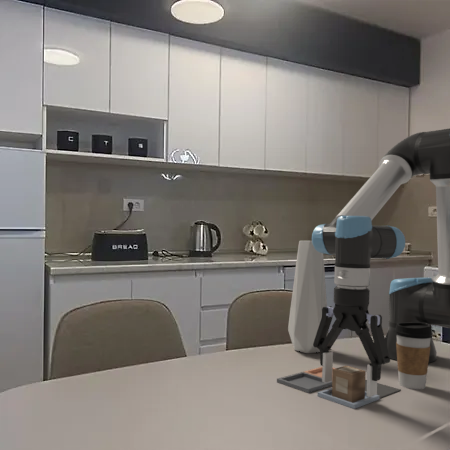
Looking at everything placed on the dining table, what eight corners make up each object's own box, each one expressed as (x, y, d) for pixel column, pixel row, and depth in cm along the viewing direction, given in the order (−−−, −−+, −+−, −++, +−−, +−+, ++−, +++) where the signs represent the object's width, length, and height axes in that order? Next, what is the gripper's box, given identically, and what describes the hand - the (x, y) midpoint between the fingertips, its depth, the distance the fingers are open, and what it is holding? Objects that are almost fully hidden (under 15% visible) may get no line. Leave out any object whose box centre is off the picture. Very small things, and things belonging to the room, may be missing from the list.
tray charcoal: (302, 376, 126) (302, 371, 126) (333, 386, 119) (333, 381, 119) (276, 383, 120) (276, 378, 120) (308, 394, 113) (308, 389, 113)
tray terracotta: (326, 370, 132) (326, 365, 132) (356, 379, 125) (357, 374, 125) (302, 376, 126) (302, 371, 126) (333, 386, 119) (334, 381, 119)
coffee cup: (434, 394, 116) (436, 328, 116) (395, 390, 117) (397, 325, 117) (427, 382, 124) (429, 321, 124) (391, 379, 125) (392, 319, 125)
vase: (278, 349, 153) (281, 239, 153) (302, 343, 161) (305, 239, 160) (310, 358, 144) (313, 241, 144) (334, 351, 152) (338, 241, 151)
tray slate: (342, 389, 117) (343, 384, 117) (379, 400, 110) (379, 395, 110) (317, 397, 111) (317, 392, 111) (354, 410, 104) (354, 404, 104)
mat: (366, 382, 123) (366, 379, 123) (400, 392, 116) (400, 389, 116) (344, 389, 117) (344, 386, 117) (379, 400, 110) (379, 397, 110)
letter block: (345, 392, 114) (346, 365, 114) (364, 398, 110) (365, 370, 110) (331, 396, 110) (332, 368, 110) (351, 403, 107) (351, 374, 107)
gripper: (299, 281, 116) (296, 377, 116) (391, 294, 99) (387, 407, 99) (319, 280, 121) (316, 372, 121) (410, 292, 104) (407, 399, 104)
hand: (348, 387), depth 110 cm, fingers open, 11 cm apart
